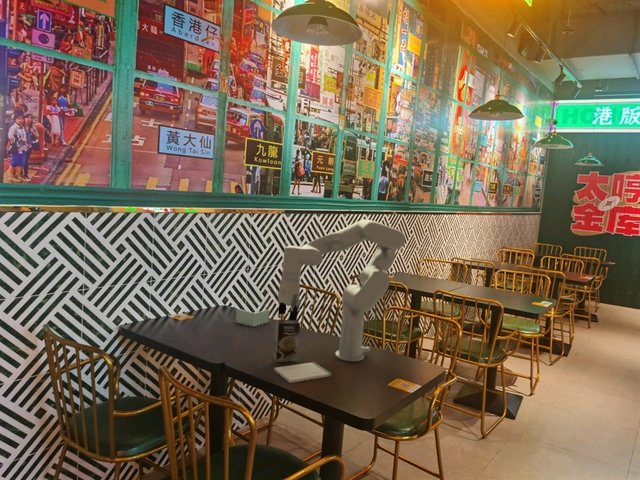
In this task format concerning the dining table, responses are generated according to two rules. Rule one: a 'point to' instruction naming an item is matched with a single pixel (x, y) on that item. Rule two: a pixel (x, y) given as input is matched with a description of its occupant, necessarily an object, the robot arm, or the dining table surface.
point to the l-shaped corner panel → (252, 317)
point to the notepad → (302, 372)
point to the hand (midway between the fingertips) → (287, 316)
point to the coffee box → (286, 340)
